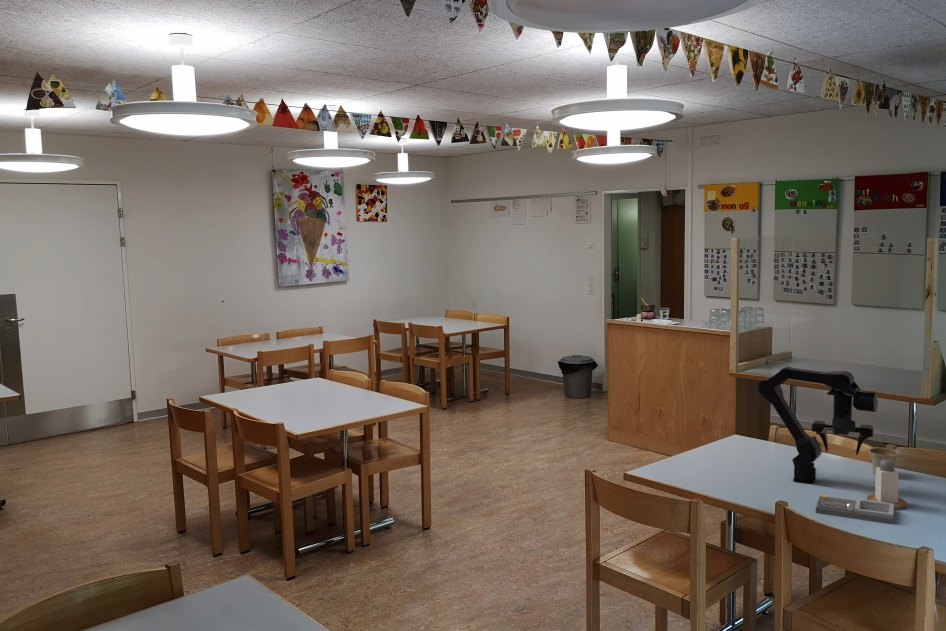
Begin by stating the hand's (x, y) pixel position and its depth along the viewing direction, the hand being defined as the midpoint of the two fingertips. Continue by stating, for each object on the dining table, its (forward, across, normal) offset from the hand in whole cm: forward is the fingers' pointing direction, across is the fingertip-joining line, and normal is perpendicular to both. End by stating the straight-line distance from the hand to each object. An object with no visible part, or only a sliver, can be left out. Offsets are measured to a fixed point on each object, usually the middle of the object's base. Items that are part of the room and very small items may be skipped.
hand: (841, 453), depth 255 cm
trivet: (+12, +14, -11) cm, 21 cm away
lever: (+12, 0, -27) cm, 30 cm away
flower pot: (+12, +12, +20) cm, 26 cm away
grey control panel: (+12, +6, -23) cm, 27 cm away
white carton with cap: (+11, +14, -11) cm, 21 cm away
